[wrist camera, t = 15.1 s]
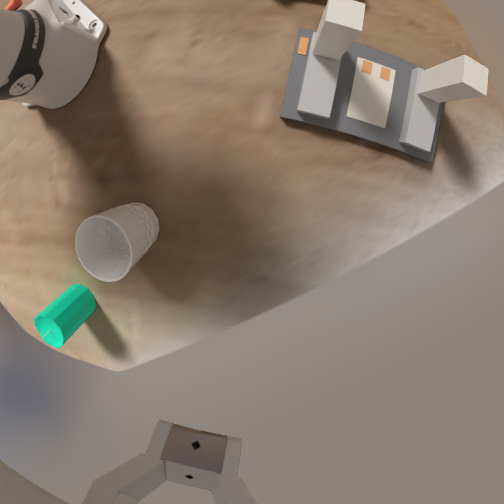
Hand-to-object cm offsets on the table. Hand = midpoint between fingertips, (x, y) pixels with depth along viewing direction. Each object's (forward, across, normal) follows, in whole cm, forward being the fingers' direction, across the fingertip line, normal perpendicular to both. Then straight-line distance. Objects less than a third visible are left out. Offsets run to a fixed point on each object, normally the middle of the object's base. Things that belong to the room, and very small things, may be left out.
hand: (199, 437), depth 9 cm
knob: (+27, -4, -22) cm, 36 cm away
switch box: (+31, -10, -19) cm, 38 cm away
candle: (+31, +27, +20) cm, 46 cm away
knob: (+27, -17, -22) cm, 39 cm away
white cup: (+31, +16, +4) cm, 35 cm away
